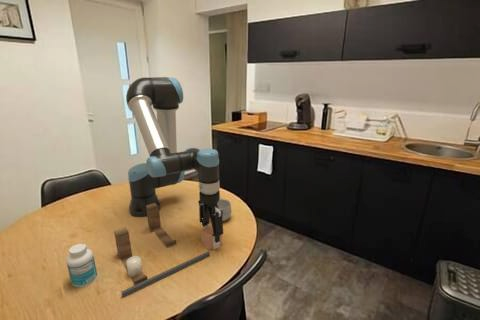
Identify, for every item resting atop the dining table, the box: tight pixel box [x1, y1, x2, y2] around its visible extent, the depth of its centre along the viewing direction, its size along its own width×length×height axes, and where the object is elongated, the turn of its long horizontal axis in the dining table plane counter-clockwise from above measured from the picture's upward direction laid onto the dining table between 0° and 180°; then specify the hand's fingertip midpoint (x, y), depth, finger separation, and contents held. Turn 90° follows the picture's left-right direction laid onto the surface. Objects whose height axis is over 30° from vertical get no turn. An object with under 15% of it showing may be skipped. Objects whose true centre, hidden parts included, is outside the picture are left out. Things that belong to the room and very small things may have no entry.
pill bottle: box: [65, 243, 98, 288], centre depth 85 cm, size 8×7×14 cm
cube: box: [200, 224, 223, 251], centre depth 103 cm, size 6×6×6 cm
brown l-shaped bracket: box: [113, 226, 148, 286], centre depth 91 cm, size 20×4×12 cm, turn 38°
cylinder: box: [126, 255, 143, 278], centre depth 88 cm, size 4×4×5 cm
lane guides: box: [120, 250, 211, 298], centre depth 97 cm, size 24×31×3 cm
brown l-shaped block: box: [146, 203, 177, 248], centre depth 109 cm, size 20×4×12 cm, turn 38°
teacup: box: [213, 196, 232, 222], centre depth 126 cm, size 14×11×8 cm
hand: (211, 243), depth 104 cm, fingers closed on cube, 6 cm apart
